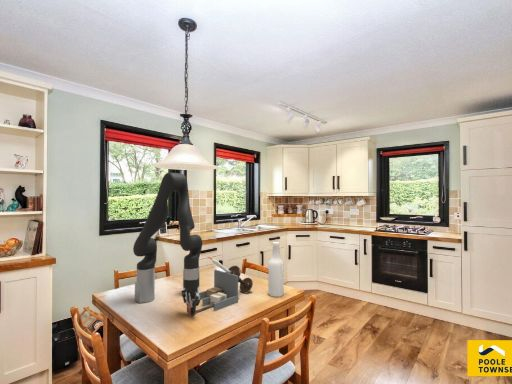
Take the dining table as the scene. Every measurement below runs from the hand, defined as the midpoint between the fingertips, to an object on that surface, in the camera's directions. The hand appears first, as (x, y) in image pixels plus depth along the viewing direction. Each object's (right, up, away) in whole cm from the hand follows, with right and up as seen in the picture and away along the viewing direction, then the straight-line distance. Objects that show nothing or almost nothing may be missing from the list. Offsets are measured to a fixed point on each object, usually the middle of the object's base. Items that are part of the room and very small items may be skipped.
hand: (191, 313), depth 133 cm
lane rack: (+9, -1, +17) cm, 19 cm away
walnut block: (+8, -1, +22) cm, 23 cm away
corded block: (+6, -1, +7) cm, 9 cm away
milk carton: (-6, -1, +28) cm, 29 cm away
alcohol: (+43, -1, +28) cm, 51 cm away
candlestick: (+25, +2, +33) cm, 42 cm away
